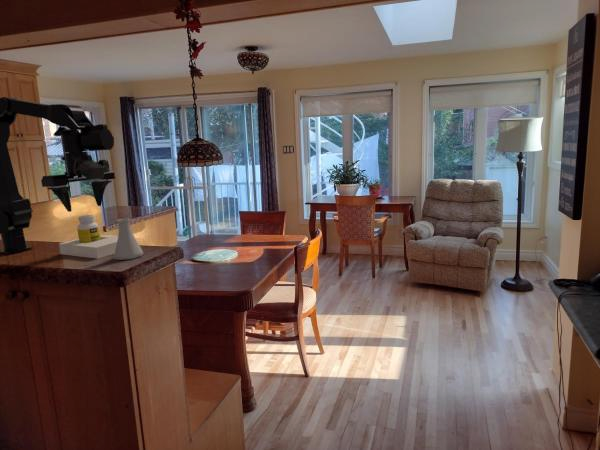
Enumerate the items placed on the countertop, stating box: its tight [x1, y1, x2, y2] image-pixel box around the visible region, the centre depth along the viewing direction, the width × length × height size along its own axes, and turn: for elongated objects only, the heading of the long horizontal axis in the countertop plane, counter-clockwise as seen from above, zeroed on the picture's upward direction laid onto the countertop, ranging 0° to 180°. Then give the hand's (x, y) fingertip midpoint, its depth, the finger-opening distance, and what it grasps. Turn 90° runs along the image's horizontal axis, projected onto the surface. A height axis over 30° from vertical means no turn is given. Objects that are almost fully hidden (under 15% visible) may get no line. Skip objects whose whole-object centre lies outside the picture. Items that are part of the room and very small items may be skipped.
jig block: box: [58, 233, 118, 260], centre depth 124 cm, size 16×12×3 cm
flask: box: [113, 217, 144, 261], centre depth 114 cm, size 7×7×10 cm
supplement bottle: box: [76, 214, 100, 243], centre depth 125 cm, size 5×5×10 cm
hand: (85, 208), depth 124 cm, fingers open, 9 cm apart
